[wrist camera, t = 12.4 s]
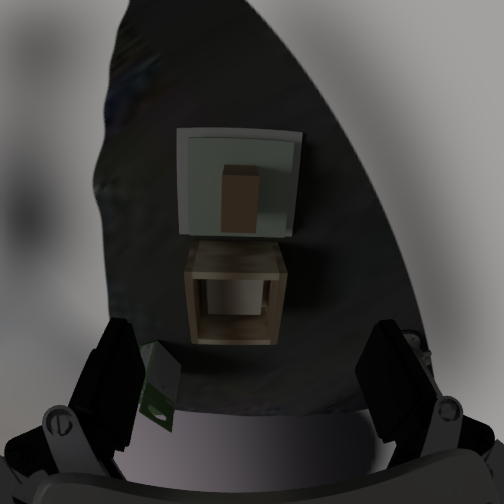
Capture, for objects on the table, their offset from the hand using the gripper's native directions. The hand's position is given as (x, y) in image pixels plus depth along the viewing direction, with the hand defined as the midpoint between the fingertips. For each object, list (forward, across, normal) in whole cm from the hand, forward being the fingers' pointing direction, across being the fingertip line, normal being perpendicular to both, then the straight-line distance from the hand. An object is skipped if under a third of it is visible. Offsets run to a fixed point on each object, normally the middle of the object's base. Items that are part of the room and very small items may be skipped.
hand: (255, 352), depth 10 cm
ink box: (+23, +12, +27) cm, 38 cm away
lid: (+21, 0, -1) cm, 21 cm away
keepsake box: (+22, 0, +11) cm, 25 cm away
